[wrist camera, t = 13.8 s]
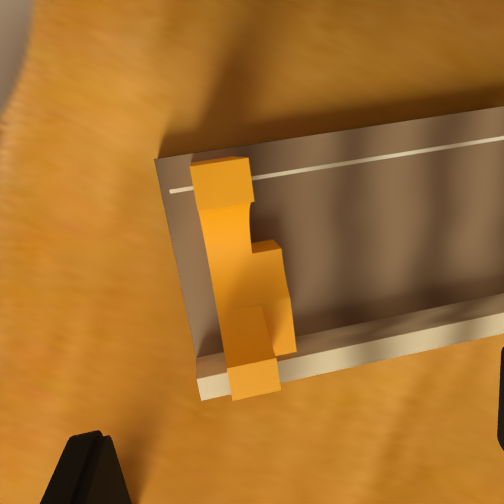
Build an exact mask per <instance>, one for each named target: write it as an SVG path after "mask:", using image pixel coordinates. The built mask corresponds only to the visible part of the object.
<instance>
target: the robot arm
mask: <svg viewBox="0 0 504 504" xmlns="http://www.w3.org/2000/svg"><path fill="white" fill-rule="evenodd" d="M497 437H498V441H499V444H500V446H501V447H502V449H503V450H504V347H503V348H502V351H501V367H500V388H499V409H498V430H497ZM40 504H132V503H131V500H130V497H129V494H128V490H127V487H126V484H125V481H124V477H123V474H122V471H121V467H120V464H119V461H118V458H117V454H116V451H115V448H114V445H113V441H112V439H111V437H110V436H109V435H107V436H103V435H102V433H101V432H100V431H99V430H97V431H92V432H88V433H83V434H79V435H74V436H72V437H70V438H69V440H68V441H67V444H66V446H65V448H64V450H63V453H62V455H61V457H60V459H59V462H58V464H57V466H56V469H55V471H54V473H53V475H52V478H51V480H50V482H49V484H48V487H47V489H46V491H45V493H44V496H43V498H42V500H41V502H40Z"/></svg>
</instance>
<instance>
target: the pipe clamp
mask: <svg viewBox="0 0 504 504" xmlns="http://www.w3.org/2000/svg"><path fill="white" fill-rule="evenodd" d="M190 172H191V177H192V183H193V188H194V193H195V199H196V204H197V210H198V212H199V217H200V221H201V226H202V231H203V236H204V241H205V247H206V252H207V257H208V263H209V268H210V274H211V279H212V285H213V290H214V296H215V302H216V307H217V313H218V319H219V325H220V330H221V336H222V342H223V348H224V354H225V361H226V367H227V373H228V378H229V384H230V389H231V395H232V400H233V401H234V400H238V399H243V398H247V397H252V396H256V395H261V394H265V393H270V392H274V391H279V390H281V387H280V380H279V373H278V366H277V359H276V356H279V355H284V354H289V353H293V352H297V350H296V342H295V333H294V325H293V317H292V309H291V300H290V296H289V291H288V287H287V282H286V277H285V271H284V265H283V258H282V249H281V248H280V246H279V245H278V244H277V243H276V242H275V241H274V240H273V239H272V240H266V241H260V242H255V243H251V239H250V226H249V210H250V204H251V202H255V201H254V194H253V187H252V179H251V172H250V165H249V158H246V157H236V156H232V157H225V158H218V159H212V160H205V161H198V162H192V163H191V164H190Z"/></svg>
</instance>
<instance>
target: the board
mask: <svg viewBox="0 0 504 504" xmlns="http://www.w3.org/2000/svg"><path fill="white" fill-rule="evenodd" d="M232 156H236V157H246V158H249V165H250V172H251V179H252V187H253V194H254V201H255V202H251V204H250V210H249V226H250V239H251V243H255V242H260V241H266V240H272V239H273V240H274V241H275V242H276V243H277V244H278V245H279V246H280V248H281V249H282V258H283V265H284V271H285V277H286V282H287V287H288V291H289V296H290V300H291V309H292V317H293V325H294V333H295V342H296V350H297V352H293V353H289V354H284V355H279V356H276V359H277V366H278V373H279V380H280V383H283V382H287V381H292V380H296V379H301V378H305V377H310V376H314V375H319V374H323V373H328V372H332V371H337V370H341V369H346V368H350V367H355V366H359V365H364V364H368V363H372V362H377V361H381V360H386V359H390V358H395V357H399V356H404V355H408V354H413V353H417V352H422V351H426V350H431V349H435V348H440V347H444V346H449V345H453V344H458V343H462V342H467V341H471V340H476V339H480V338H485V337H489V336H494V335H498V334H503V333H504V106H502V107H495V108H489V109H482V110H475V111H469V112H462V113H456V114H449V115H442V116H436V117H429V118H423V119H416V120H409V121H403V122H396V123H390V124H383V125H376V126H370V127H363V128H357V129H350V130H343V131H337V132H330V133H324V134H317V135H310V136H304V137H297V138H291V139H284V140H277V141H271V142H264V143H258V144H251V145H244V146H238V147H231V148H225V149H218V150H211V151H205V152H198V153H192V154H185V155H178V156H172V157H165V158H159V159H154V161H155V166H156V171H157V175H158V180H159V185H160V189H161V194H162V199H163V203H164V208H165V213H166V217H167V222H168V227H169V232H170V236H171V241H172V246H173V250H174V255H175V260H176V264H177V269H178V274H179V278H180V283H181V288H182V293H183V297H184V302H185V307H186V311H187V316H188V321H189V325H190V330H191V335H192V339H193V344H194V349H195V354H196V364H197V383H198V388H199V392H200V397H201V401H202V400H206V399H211V398H215V397H220V396H224V395H229V394H231V389H230V384H229V378H228V373H227V367H226V361H225V354H224V348H223V342H222V336H221V330H220V325H219V319H218V313H217V307H216V302H215V296H214V290H213V285H212V279H211V274H210V268H209V263H208V257H207V252H206V247H205V241H204V236H203V231H202V226H201V221H200V217H199V212H198V210H197V204H196V199H195V193H194V188H193V183H192V177H191V172H190V164H191V163H192V162H198V161H205V160H212V159H218V158H225V157H232Z"/></svg>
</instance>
